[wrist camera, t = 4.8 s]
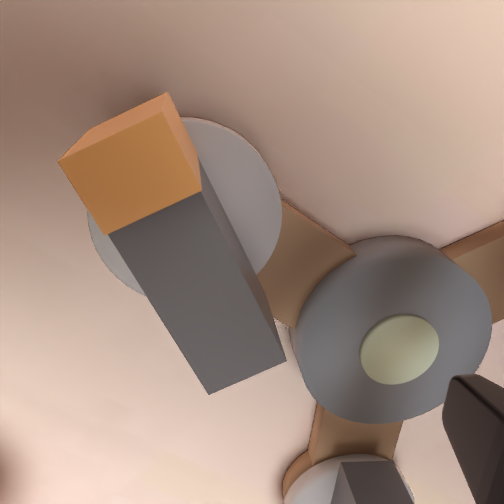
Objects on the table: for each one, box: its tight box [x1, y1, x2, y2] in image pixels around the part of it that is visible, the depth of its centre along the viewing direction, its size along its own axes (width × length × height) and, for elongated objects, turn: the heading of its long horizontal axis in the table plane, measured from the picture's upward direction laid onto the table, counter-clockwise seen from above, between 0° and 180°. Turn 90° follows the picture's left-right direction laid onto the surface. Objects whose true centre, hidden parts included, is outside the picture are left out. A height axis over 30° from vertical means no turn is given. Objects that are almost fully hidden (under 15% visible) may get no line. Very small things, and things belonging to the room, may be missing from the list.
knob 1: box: [57, 92, 287, 395], centre depth 15 cm, size 8×6×5 cm
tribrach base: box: [256, 200, 504, 499], centre depth 21 cm, size 23×21×2 cm
